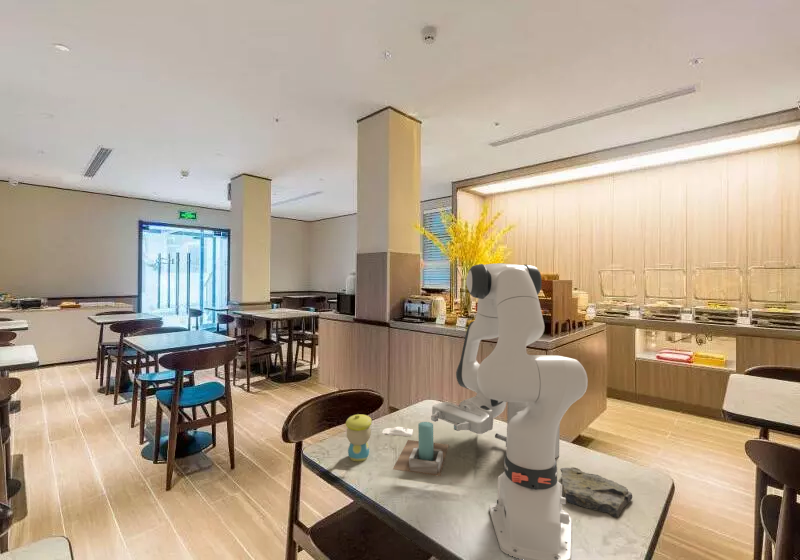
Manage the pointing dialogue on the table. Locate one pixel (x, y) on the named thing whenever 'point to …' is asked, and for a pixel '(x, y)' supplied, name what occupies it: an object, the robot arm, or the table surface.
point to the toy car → (398, 431)
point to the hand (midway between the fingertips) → (443, 423)
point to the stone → (594, 491)
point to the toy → (358, 436)
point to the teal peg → (426, 441)
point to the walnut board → (414, 464)
